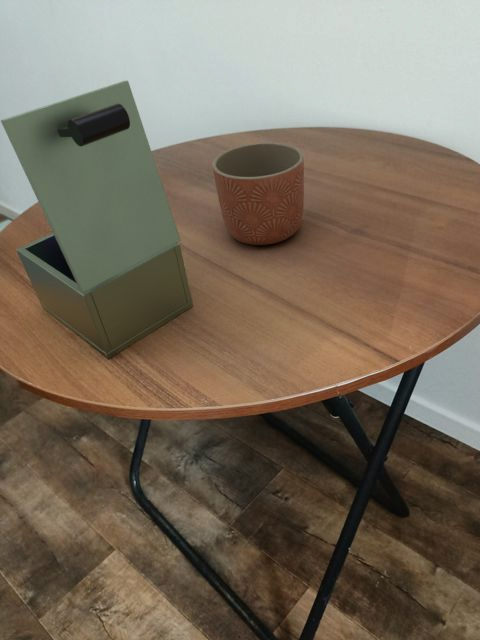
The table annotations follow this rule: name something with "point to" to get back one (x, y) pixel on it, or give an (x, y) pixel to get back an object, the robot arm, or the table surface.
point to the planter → (260, 191)
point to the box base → (109, 295)
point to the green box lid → (95, 181)
